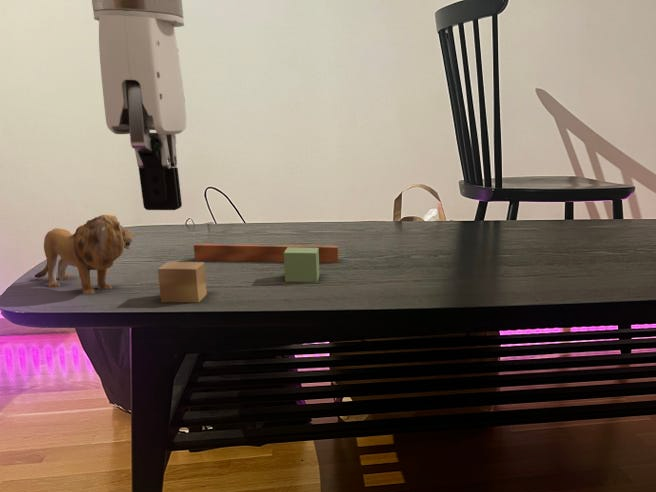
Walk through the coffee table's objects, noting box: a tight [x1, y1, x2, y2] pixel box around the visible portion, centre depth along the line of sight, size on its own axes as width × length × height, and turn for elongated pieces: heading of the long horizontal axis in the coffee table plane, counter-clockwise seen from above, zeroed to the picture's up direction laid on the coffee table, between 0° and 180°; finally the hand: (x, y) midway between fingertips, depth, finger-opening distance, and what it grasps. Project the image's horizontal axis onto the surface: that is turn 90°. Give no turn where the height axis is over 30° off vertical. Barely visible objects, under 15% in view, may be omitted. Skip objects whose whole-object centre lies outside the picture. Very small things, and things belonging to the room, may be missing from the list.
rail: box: [193, 243, 340, 264], centre depth 101 cm, size 20×1×2 cm, turn 98°
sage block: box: [283, 247, 320, 283], centre depth 91 cm, size 4×4×4 cm
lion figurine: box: [34, 214, 135, 295], centre depth 81 cm, size 15×5×9 cm, turn 70°
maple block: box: [157, 261, 208, 303], centre depth 79 cm, size 4×4×4 cm
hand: (163, 208), depth 70 cm, fingers closed
